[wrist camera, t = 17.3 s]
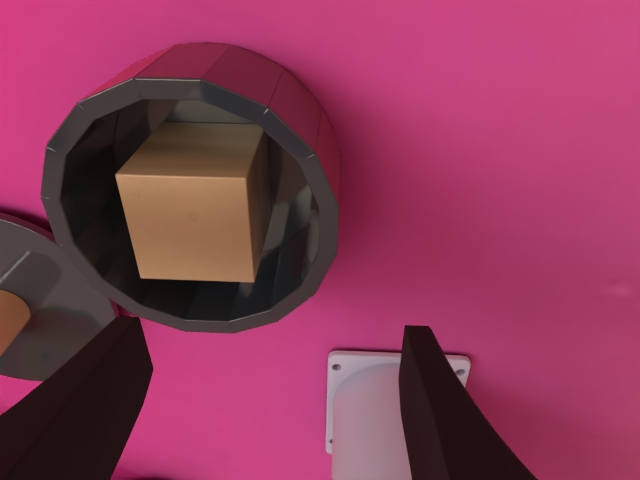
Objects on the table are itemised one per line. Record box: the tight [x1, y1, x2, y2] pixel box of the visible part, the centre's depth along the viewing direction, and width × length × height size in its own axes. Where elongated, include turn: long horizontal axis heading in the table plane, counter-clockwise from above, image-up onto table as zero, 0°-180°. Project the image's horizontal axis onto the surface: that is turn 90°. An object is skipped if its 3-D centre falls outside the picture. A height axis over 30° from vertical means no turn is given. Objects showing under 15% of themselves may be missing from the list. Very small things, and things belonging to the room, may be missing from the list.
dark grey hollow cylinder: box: [41, 42, 340, 333], centre depth 20 cm, size 11×11×5 cm
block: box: [115, 122, 271, 282], centre depth 19 cm, size 4×4×5 cm
